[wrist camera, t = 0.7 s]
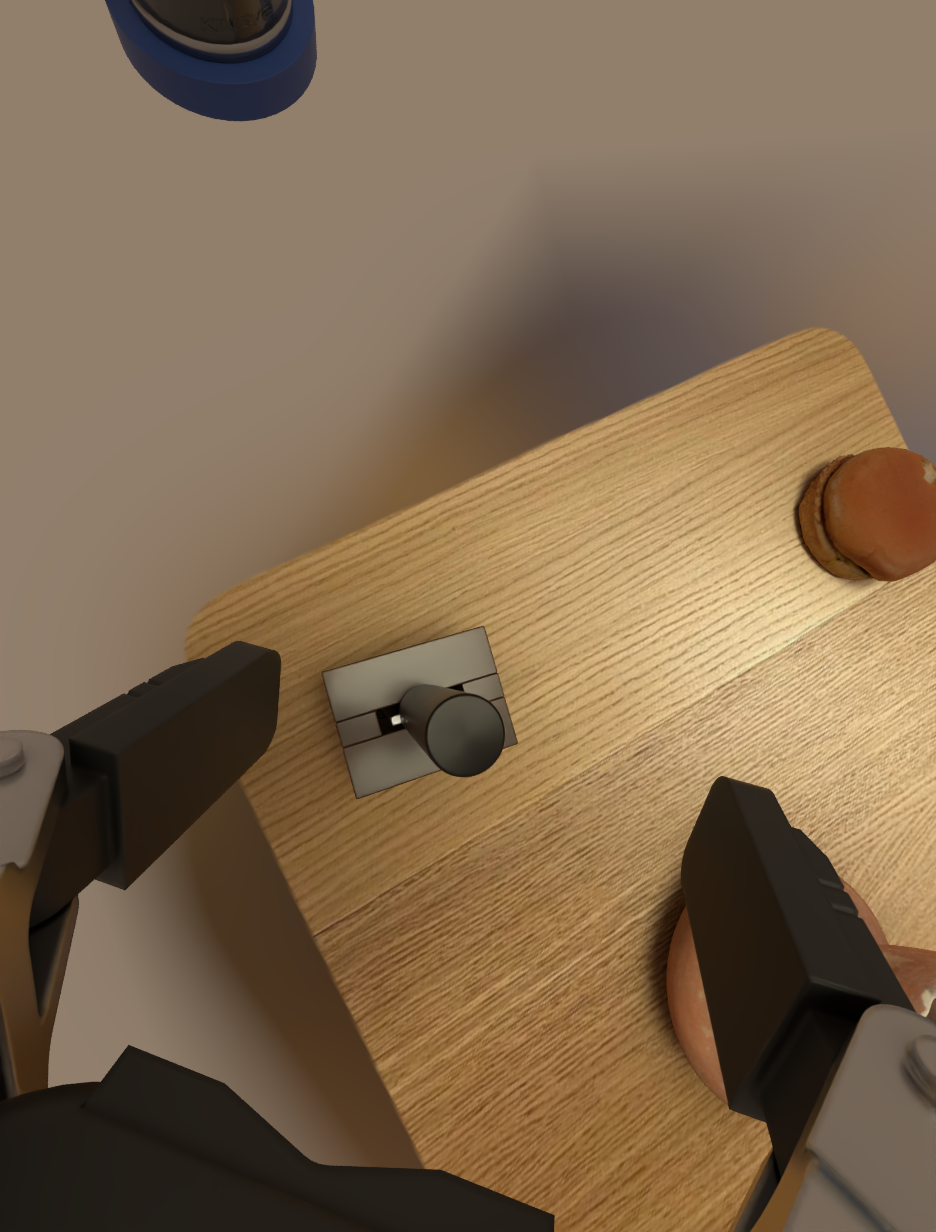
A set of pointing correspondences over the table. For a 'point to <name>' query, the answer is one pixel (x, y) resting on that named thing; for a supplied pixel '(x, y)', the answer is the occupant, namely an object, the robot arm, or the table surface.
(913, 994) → the ceramic jug
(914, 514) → the burger
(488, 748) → the black tall cylinder
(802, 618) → the table surface
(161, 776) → the robot arm
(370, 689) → the knife block
